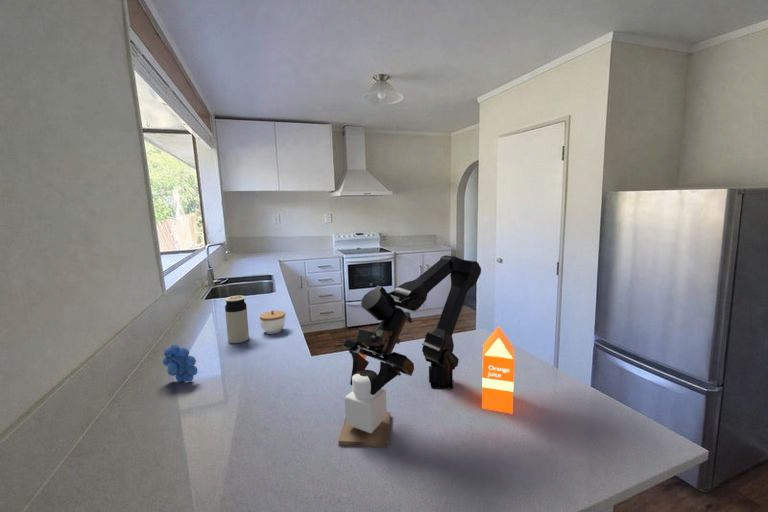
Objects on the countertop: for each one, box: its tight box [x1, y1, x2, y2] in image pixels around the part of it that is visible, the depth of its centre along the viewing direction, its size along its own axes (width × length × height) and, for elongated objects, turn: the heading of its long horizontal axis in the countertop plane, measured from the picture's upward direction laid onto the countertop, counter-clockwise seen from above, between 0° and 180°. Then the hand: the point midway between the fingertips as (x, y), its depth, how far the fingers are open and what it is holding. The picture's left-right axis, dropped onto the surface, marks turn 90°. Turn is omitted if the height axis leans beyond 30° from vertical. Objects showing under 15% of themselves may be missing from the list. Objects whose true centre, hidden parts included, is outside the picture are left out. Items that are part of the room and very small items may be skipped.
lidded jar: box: [259, 310, 286, 335], centre depth 144 cm, size 11×11×9 cm
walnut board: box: [338, 411, 391, 448], centre depth 78 cm, size 11×11×1 cm
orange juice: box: [481, 325, 515, 414], centre depth 87 cm, size 8×9×20 cm
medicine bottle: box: [344, 369, 387, 433], centre depth 77 cm, size 7×7×12 cm
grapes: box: [162, 344, 198, 383], centre depth 101 cm, size 12×7×12 cm, turn 79°
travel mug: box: [224, 295, 250, 344], centre depth 134 cm, size 8×8×18 cm
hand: (361, 389), depth 76 cm, fingers closed on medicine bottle, 6 cm apart
